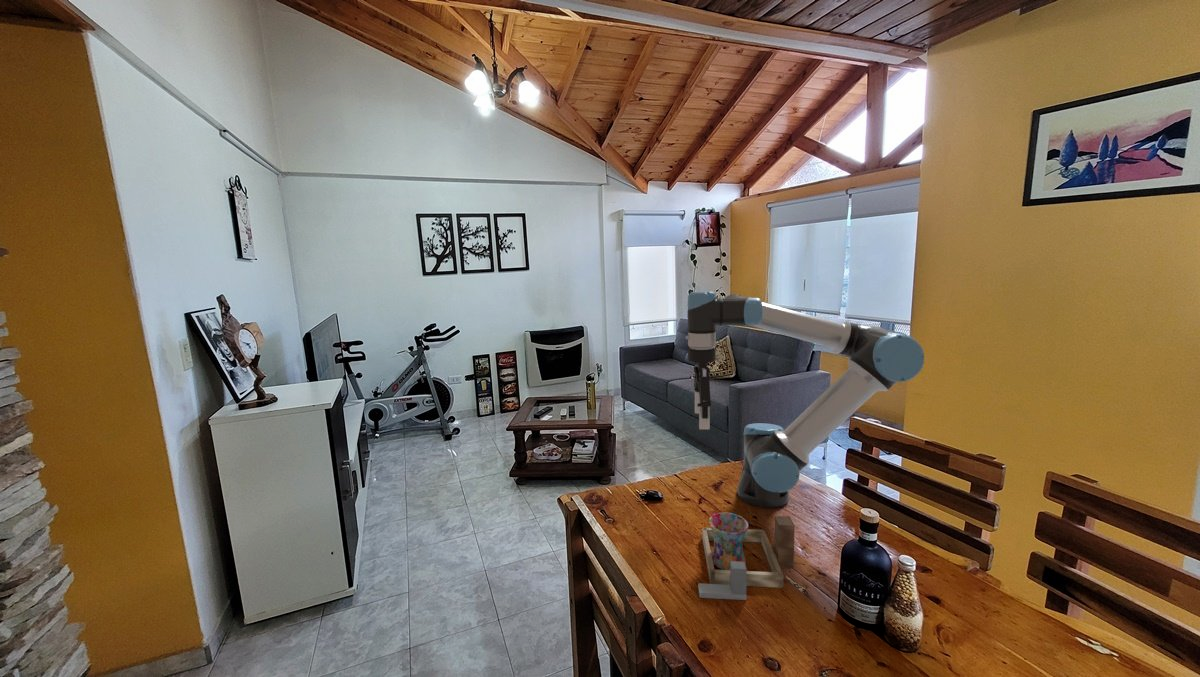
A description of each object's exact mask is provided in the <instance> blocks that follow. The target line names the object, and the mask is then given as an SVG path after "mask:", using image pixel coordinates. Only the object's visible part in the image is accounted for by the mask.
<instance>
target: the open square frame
mask: <svg viewBox="0 0 1200 677" xmlns="http://www.w3.org/2000/svg"><path fill="white" fill-rule="evenodd" d="M795 529H796V527H795V523H794V522H793V520H792V518H791V516H790V515H789V516H787V515H782V516H781V515H775V516H774V531H773V534H774V535H773V536H774V538H773V540H774V541H773V547H772V545H771V543H770V540H769V537H768V535H767V533H766V531H765V529H753V528H752V529H751V528H748V529H747V531H746V533H745V535H744V538H743V543H760V544H761V546H762V549H763V552H764V553H765V557H766V559H767V562H768V564H769V567H770V569H771V571H754V570H753V571H752V570H750V571H749V570H747V579H746V587H763V588H784V574H783V571H782V569H794V566H795V565H794V564H795V563H794V560H795V559H794V558H795V557H794V556H795ZM701 534H702V536H701V537H702V538H701V539H702V545H703V550H704V555H705V556H704V557H705V561H706V567H707V573H708V577H709V578H708V579H709V584H722V585H730V570H723V569H715V567H714V566H715V565H714V564H713V560H712V555H711V553H712V551H711V544H710V542H709V541H713V542H714V537H713V533H712V530H711V527H702V528H701ZM781 568H782V569H781Z"/></svg>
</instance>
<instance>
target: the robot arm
mask: <svg viewBox="0 0 1200 677" xmlns="http://www.w3.org/2000/svg"><path fill="white" fill-rule="evenodd" d="M686 312H687V335H686V336H685V339H686V340H687V346H688V348H687V360H688V362H690V363H693V364H694V367H693V373H694V374H693V375H694V380H693V387H694V388H693V389H694V414H698V416H699V418H698V419H699V420H698V427H699V428H698V429H699V430H710V429H711V427H710V426H711V425H710V424H711V421H710V420H711V418H710V417H711V413H710V412H711V405H712V403H711V402H712V401H711V388H710V387H711V386H710V384H711V383H710V374H711V373H710V370H711V369H710V368H709V366H708V364H709V363H710V364H711V363H714V362H716V359H717V358H716V352H717V350H716V348H715V347H716V345H717V344H716V343H717V342H716V341H717V337H716V336H717V335H716V334H717V332H716V328H717V327H718V326H719V327H722V326H724V327H725V326H728V327H731V326H733V327H734V326H737V327H738V326H740V327H741V326H742V327H743V326H746V327H750V326H751V327H755V328H758V329H761V330H762V329H763V330H766V331H769V332H773V333H777V334H780V335H784V336H787V337H791V338H795V339H798V340H801V341H804V342H808V343H811V344H814V345H815V344H816V345H818V346H822V347H825V348H830V349H832V350H833V352H834V353H835V354H837V355H842V356H844V357H846V358H848V368H847V370H845V371H844V372H843V373H842V375H840V376H839V377H838V378H837V379H836V380H835V381H834V382H833V383H832V384H831V385H830V386H829V387H828V388H827V389H826V390H825V391H824V392H822V393H821V395H820V396H818V397H817V398H816V399H815V400H814V401H813V402H812V403H811V404H810V405H809V406H808V407H807V408H806V409H805V410H804V411H803V412H802V413H801V414H800V415H799V416H798V417H796V419H794V420H793V421H792V422H791V423H790V424H789V425H788V426H787V427H786V428H785V429H784V428H783V427H782V426H780V425H778V424H774V423H773V424H772V423H765V422H764V423H763V422H762V423H761V422H760V423H758V422H757V423H749V424H747V425H745V427H744V429H743V430H744V431H743V434H742V435H743V471H742V474H741V476H740V478H739V482H738V484H737V495H738V497H739V499H740V500H742V501H743V502H745V503H747V504H750V505H752V506H755V507H760V508H767V509H771V508H773V509H774V508H779V507H783V506H785V505H786V504H787V503H788V502H789V499H790V497H789V496H790V494H789V492H790V491H791V490H792V489H794V487H795V486H796V485H797V484H798V482H799V481H800V480H799V479H800V472H801V471H802V470H803V469H804V468H805V467H806V466H807V465H809V463H810V461H809V460H810V457H809V456H810V454H811V453H812V452H813V451H814V450H815V449H816V448H817V447H818V446H820V445H821V444H822V443H823V442H824V441H825V440H826V439H827V438H829V436H830V435H831V434H832V433H834V432H835V430H837V429H838V428H839V427H840V426H841V425H842V424H843V423H844V422H846V420H847V419H848V418H850V417H851V416H852V415H853V414H854V413H855V412H857V410H858V409H859V408H860V407H862V406H863V405H864V404H865V403H867V401H868V400H869V399H870V398H871V397H872V396H874V395H875V394H876V393H877V392H888V391H889V390H890V389H891V388H892V387H893V386H894V385H895V384H896V383H899V382H900V383H902V382H907V381H909V380H913V378H915V377H916V376H917V375H918V374H920V372H921V371H922V369H923V366H924V363H925V353H924V350H923V347H922V345H921V344H920V342H918V341H917V340H916V339H915V338H914V337H911V336H909V335H908V334H906V333H905V332H901V331H895V330H892V329H889V328H885V327H881V326H873V325H865V324H859V323H854V322H851V321H844V322H842V323H840V322H837V321H834V320H830V319H826V318H822V317H818V316H815V315H811V314H808V313H807V314H806V313H803V312H800V311H798V310H797V311H796V310H793V309H789V308H786V307H782V306H778V305H776V304H775V305H774V304H771V303H766V302H764V301H763V302H762V300H761V298H759V297H751V296H749V297H745V296H741V295H739V294H735V293H733V294H728V295H727V296H725V297H724V298H722V297H721V298H720V297H717V295H716V292H715V291H710V290H707V291H706V290H704V291H703V290H702V291H701V290H699V291H692V292H690V293H689V294H688V295H687V311H686ZM716 326H717V327H716Z"/></svg>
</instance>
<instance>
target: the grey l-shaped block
mask: <svg viewBox="0 0 1200 677" xmlns="http://www.w3.org/2000/svg"><path fill="white" fill-rule="evenodd" d="M747 571H748V570H747V566H746V564H745V562H738V561H730V585H722V584H710V583H699V582H698V584H697V586H698V588H697V589H698V596H699V598H701V599H718V600H719V599H720V600H721V599H722V600H738V601H739V600H740V601H747V586H746V579H747Z"/></svg>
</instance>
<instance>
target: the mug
mask: <svg viewBox="0 0 1200 677" xmlns="http://www.w3.org/2000/svg"><path fill="white" fill-rule="evenodd" d="M708 525H709V528H711V530H712V533H713V537H714V541H713V547H712V548H713V549H712V551H711V555H712V560H713V565H714V566H715V567H717V568H718V569H719V570H730V561H738V562H745V565H747V559H746V556H745V554H744V551H743V550H744V549H743V543H744V542H743V538H744V535H745V533H746V531H747V529H749V523H748V521H747V520H746V519H745V518H744V517H742V516H741V515H739V514H736V513H732V512H717V513H715V514H712V515H711V516H710V517H709V518H708Z"/></svg>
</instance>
